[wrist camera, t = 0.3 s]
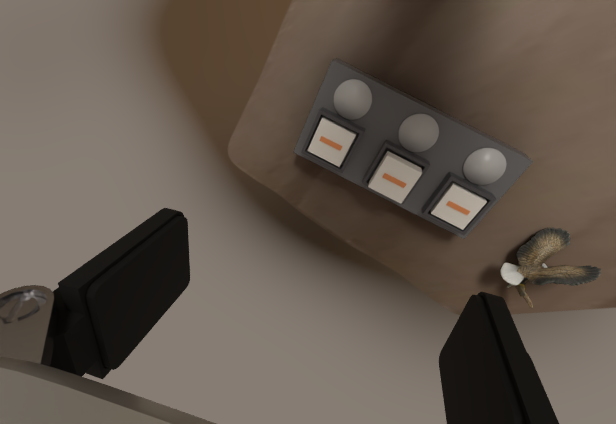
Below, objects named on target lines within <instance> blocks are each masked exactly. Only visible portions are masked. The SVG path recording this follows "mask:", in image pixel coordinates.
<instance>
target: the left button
mask: <svg viewBox="0 0 616 424" xmlns="http://www.w3.org/2000/svg"><path fill="white" fill-rule="evenodd" d="M356 134H357V132H355V131H353V130H351V129H349V128H347V127H345V126H343V125H341V124H339V123H337V122H335V121H333V120H332V119H330V118H328V117H326V116H324V117H323V118H322V119H321V122H320V124H319V126H318V128H317V131H316V133H315V135H314V137H313V140H312V142H311V144H310V146H309V148H308V151H309V152H311V153H313V154H315V155H317V156H319V157H321V158H323V159H325V160H326V161H328V162H330V163H332V164H334V165H336V166H338V167H340V165H341V163H342V161H343V159H344V157H345V155H346V153H347V151H348V150H349V148H350V146H351V144H352V142H353V140H354V138H355V136H356Z"/></svg>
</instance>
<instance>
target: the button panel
mask: <svg viewBox="0 0 616 424" xmlns="http://www.w3.org/2000/svg"><path fill="white" fill-rule="evenodd" d="M324 116H326V117H328V118H330V119H332V120H333V121H335V122H337V123H339V124H341V125H343V126H345V127H347V128H349V129H351V130H353V131H355V132H357V134H356V136H355V138H354V140H353V142H352V144H351V146H350V148H349V150H348V151H347V153H346V155H345V157H344V159H343V161H342V163H341V165H340V167H338V166H336V165H334V164H332V163H330V162H328V161H326V160H325V159H323V158H321V157H319V156H317V155H315V154H313V153H311V152H309V151H308V148H309V146H310V144H311V142H312V140H313V137H314V135H315V133H316V131H317V128H318V126H319V124H320V122H321V119H322V118H323V117H324ZM387 151H389V152H391V153H393V154H395V155H397V156H399V157H401V158H403V159H405V160H407V161H409V162H411V163H412V164H414V165H416V166H418V167H420V168H421V169H422V174H421V176H420V177H419V179H418V180H417V182H416V183H415V185H414V186H413V187H412V189H411V190H410V192H409V193H408V195H407V196H406V198H405V199H404V200H403V202H402V203H399V202H397V201H395V200H393V199H391V198H389V197H387V196H385V195H383V194H381V193H379V192H377V191H375V190H373V189H371V188H369V187H368V185H369V181H370V179H371V178H372V176H373V174H374V173H375V171H376V169H377V168H378V166H379V164H380V163H381V161H382V159H383V158H384V156H385V154H386V153H387ZM294 153H296V154H298V155H300V156H302V157H304V158H305V159H307V160H309V161H311V162H313V163H315V164H317V165H319V166H321V167H323V168H325V169H327V170H329V171H331V172H333V173H335V174H337V175H339V176H341V177H343V178H345V179H347V180H349V181H351V182H353V183H355V184H357V185H359V186H361V187H363V188H365V189H366V190H368V191H370V192H372V193H374V194H376V195H378V196H380V197H382V198H384V199H386V200H388V201H390V202H392V203H394V204H396V205H398V206H400V207H402V208H404V209H406V210H408V211H410V212H412V213H414V214H416V215H418V216H420V217H422V218H424V219H426V220H427V221H429V222H431V223H433V224H435V225H437V226H439V227H441V228H443V229H445V230H447V231H449V232H451V233H453V234H455V235H457V236H459V237H461V238H463V239H465V237H466V236H467V235H468V234H469V233H470V232H471V231H472V230H473V229H474V227H475V226H476V225H477V224H478V223H479V222H480V221H481V220H482V218H483V217H484V216H485V215H486V214H487V213H488V212H489V211H490V209H491V208H492V207H493V206H494V205H495V204H496V203H497V202H498V200H499V199H500V198H501V197H502V196H503V195H504V194H505V193H506V191H507V190H508V189H509V188H510V187H511V186H512V185H513V184H514V183H515V181H516V180H517V179H518V178H519V177H520V176H521V175H522V174H523V172H524V171H525V170H526V169H527V168H528V167H529V166H530V165H531V163H532V162H533V161H532V160H531V159H530V158H529V157H528V156H527V155H526V154H524V153H523V152H521V151H519V150H517V149H515V148H513V147H511V146H509V145H507V144H505V143H503V142H501V141H499V140H497V139H495V138H493V137H491V136H489V135H487V134H485V133H483V132H481V131H479V130H477V129H475V128H473V127H471V126H470V125H468V124H466V123H464V122H462V121H460V120H458V119H456V118H454V117H452V116H450V115H448V114H446V113H444V112H442V111H440V110H438V109H436V108H434V107H432V106H430V105H428V104H426V103H424V102H422V101H420V100H418V99H416V98H414V97H412V96H410V95H408V94H406V93H404V92H402V91H400V90H398V89H396V88H395V87H393V86H391V85H389V84H387V83H385V82H383V81H381V80H379V79H377V78H375V77H373V76H371V75H369V74H367V73H365V72H363V71H361V70H359V69H357V68H355V67H353V66H351V65H349V64H347V63H345V62H343V61H341V60H339V59H337V58H336V59H333V60H332V61H331V64H330V66H329V68H328V71H327V73H326V76H325V78H324V80H323V83H322V85H321V87H320V90H319V92H318V95H317V97H316V99H315V102H314V104H313V106H312V109H311V111H310V114H309V116H308V118H307V121H306V123H305V125H304V128H303V130H302V133H301V135H300V137H299V140H298V142H297V144H296V147H295V149H294ZM452 181H454V182H456V183H458V184H460V185H462V186H464V187H465V188H467V189H469V190H471V191H473V192H475V193H477V194H479V195H481V196H483V197H485V199H486V201H487V203H486V204H485V205H484V206H483V207H482V208H481V210H480V211H479V212H478V213H477V214H476V215H475V216H474V218H473V219H472V220H471V221H470V222H469V223H468V224H467V226H466V227H465V228H464V229H463V230H462V229H460V228H458V227H456V226H454V225H452V224H450V223H449V222H447V221H445V220H443V219H441V218H439V217H437V216H435V215H433V214H431V212H430V209H431V208H432V206H433V205H434V204H435V203H436V201H437V200H438V199H439V197H440V196H441V195H442V193H443V192H444V191H445V189H446V188H447V187H448V186H449V184H450V183H451V182H452Z"/></svg>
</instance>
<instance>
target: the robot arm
mask: <svg viewBox="0 0 616 424" xmlns="http://www.w3.org/2000/svg"><path fill="white" fill-rule="evenodd" d="M189 281H190V266H189V244H188V222H187V219H186V218H185V217H184V215H183V213H182V212H179V211H176V210H172V209H168V208H164V209H162V210H160V211H159V212H158V213H156V214H155V215H153V216H152V217H150V218H149V219H147V220H146V221H145V222H143V223H142V224H140V225H139V226H138V227H136V228H135V229H133V230H132V231H131V232H129V233H128V234H126V235H125V236H123V237H122V238H121V239H119V240H118V241H117V242H115V243H114V244H112V245H111V246H109V247H108V248H107V249H105V250H104V251H102V252H101V253H100V254H98V255H97V256H95V257H94V258H93V259H91V260H90V261H88V262H87V263H85V264H84V265H83V266H81V267H80V268H78V269H77V270H76V271H74V272H73V273H72V274H70V275H69V276H67V277H66V278H64V279H63V280H62V281H60V282H59V283H58V285H59V288H57V289H56V290H54V291H53V292H52V291H51V290H50V289H49V288H47V287H44V286H38V285H30V286H22V287H18V288H14V289H11V290H8V291H6V292H3V293H1V294H0V424H216V423H213V422H210V421H207V420H204V419H202V418H199V417H195V416H193V415H190V414H188V413H185V412H181V411H179V410H176V409H173V408H170V407H167V406H165V405H162V404H159V403H156V402H153V401H151V400H148V399H145V398H142V397H139V396H136V395H134V394H131V393H128V392H125V391H122V390H119V389H116V388H113V387H111V386H108V385H105V384H102V383H99V382H96V381H93V380H89V379H87V378H84V377H82V376H83V375H84V374H85V373H87V374H90V375H92V376H95V377H98V378H101V379H103V378H104V377H105V376H106V375H107V374H108V373H109V372H110V370H111V369H113V370H114V369H116V368H118V367H119V366H120V365H121V364H122V363H123V361H124V360H125V359H126V358H127V357H128V356H129V354H130V353H131V352H132V351H133V350H134V349H135V347H136V346H137V345H138V344H139V342H141V340H142V339H143V338H144V337H145V336H146V335H147V333H148V332H149V331H150V330H151V329H152V327H153V326H154V325H155V324H156V323H157V322H158V320H159V319H160V318H161V317H162V316H163V315H164V313H165V312H166V311H167V310H168V309H169V308H170V306H171V305H172V304H173V303H174V302H175V301H176V299H177V298H178V297H179V296H180V295H181V294H182V292H183V291H184V290H185V289H186V287H187V286H188V284H189ZM439 368H440V375H441V383H442V390H443V397H444V405H445V412H446V420H447V424H559V423H558V420H557V418H556V416H555V413H554V411H553V409H552V406H551V404H550V401H549V399H548V397H547V394H546V392H545V390H544V387H543V385H542V383H541V380H540V378H539V376H538V374H537V371H536V369H535V367H534V364H533V362H532V360H531V358H530V356H529V354H528V353H527V352H526V350H525V348H524V345H523V343H522V340H521V338H520V335H519V333H518V331H517V328H516V326H515V324H514V321H513V319H512V317H511V314H510V312H509V310H508V307H507V305H506V302H505V300H504V299H503V298H502V297H500V296H496V295H492V294H488V293H485V292H480V293H479V294H478V295H472V296H471V297H470V299H469V301H468V302H467V304H466V306H465V308H464V310H463V312H462V313H461V315H460V317H459V319H458V321H457V323H456V325H455V326H454V328H453V330H452V332H451V334H450V336H449V338H448V339H447V341H446V343H445V345H444V347H443V349H442V350H441V353H440V356H439Z"/></svg>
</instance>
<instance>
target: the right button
mask: <svg viewBox="0 0 616 424" xmlns="http://www.w3.org/2000/svg"><path fill="white" fill-rule="evenodd" d="M486 203H487V201H486V199H485V197H483V196H481V195H479V194H477V193H475V192H473V191H471V190H469V189H467V188H465V187H464V186H462V185H460V184H458V183H456V182H454V181H452V182H451V183H450V184H449V186H448V187H447V188H446V189H445V191H444V192H443V193H442V195H441V196H440V197H439V199H438V200H437V201H436V203H435V204H434V205H433V206H432V208H431V209H430V212H431V214H433V215H435V216H437V217H439V218H441V219H443V220H445V221H447V222H449V223H450V224H452V225H454V226H456V227H458V228H460V229H462V230H463V229H464V228H465V227H466V226H467V224H468V223H469V222H470V221H471V220H472V219H473V218H474V216H475V215H476V214H477V213H478V212H479V211H480V210H481V208H482V207H483V206H484V205H485V204H486Z"/></svg>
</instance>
